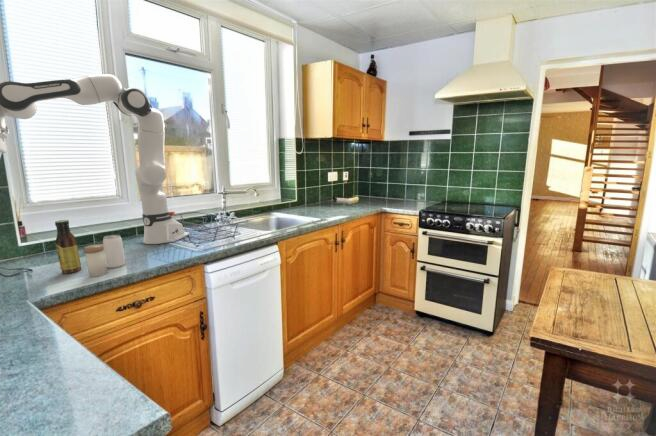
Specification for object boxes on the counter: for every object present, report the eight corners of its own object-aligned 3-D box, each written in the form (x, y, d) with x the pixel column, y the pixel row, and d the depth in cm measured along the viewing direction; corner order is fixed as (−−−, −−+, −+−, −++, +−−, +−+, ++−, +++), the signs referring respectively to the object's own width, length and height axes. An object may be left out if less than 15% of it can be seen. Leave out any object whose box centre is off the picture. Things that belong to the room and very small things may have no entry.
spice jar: (100, 270, 131) (95, 243, 128) (111, 272, 129) (107, 244, 126) (84, 276, 125) (79, 248, 123) (96, 277, 123) (91, 249, 121)
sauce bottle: (64, 269, 132) (55, 219, 128) (83, 267, 134) (74, 218, 130) (58, 275, 126) (48, 223, 122) (78, 273, 128) (68, 221, 124)
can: (129, 262, 139) (125, 234, 136) (118, 268, 132) (113, 238, 130) (114, 262, 139) (109, 234, 137) (102, 268, 133) (97, 238, 130)
